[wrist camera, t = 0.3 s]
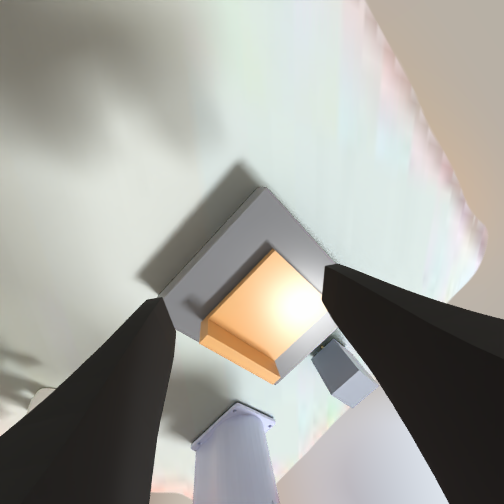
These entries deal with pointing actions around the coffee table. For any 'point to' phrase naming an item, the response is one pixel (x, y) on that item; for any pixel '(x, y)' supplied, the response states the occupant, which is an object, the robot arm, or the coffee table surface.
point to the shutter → (262, 317)
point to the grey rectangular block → (343, 374)
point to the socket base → (249, 269)
